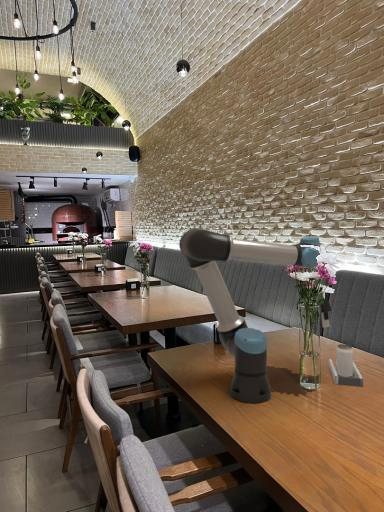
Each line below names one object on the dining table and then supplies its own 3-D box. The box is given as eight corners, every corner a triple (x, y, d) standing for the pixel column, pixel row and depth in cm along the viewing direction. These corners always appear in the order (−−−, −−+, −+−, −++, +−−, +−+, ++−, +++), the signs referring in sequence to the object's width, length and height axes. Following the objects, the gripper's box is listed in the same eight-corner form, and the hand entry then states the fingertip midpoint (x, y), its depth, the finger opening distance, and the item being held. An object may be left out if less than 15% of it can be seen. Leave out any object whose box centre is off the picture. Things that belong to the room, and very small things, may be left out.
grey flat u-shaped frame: (362, 386, 147) (363, 378, 147) (335, 384, 149) (335, 376, 149) (352, 367, 166) (352, 360, 166) (328, 365, 169) (328, 359, 168)
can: (354, 378, 155) (354, 349, 154) (337, 376, 156) (337, 348, 155) (350, 371, 161) (351, 344, 160) (334, 370, 162) (335, 343, 161)
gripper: (336, 276, 147) (342, 329, 149) (308, 268, 171) (313, 313, 174) (318, 279, 146) (324, 332, 148) (293, 270, 170) (298, 316, 173)
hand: (318, 322), depth 161 cm, fingers open, 13 cm apart
